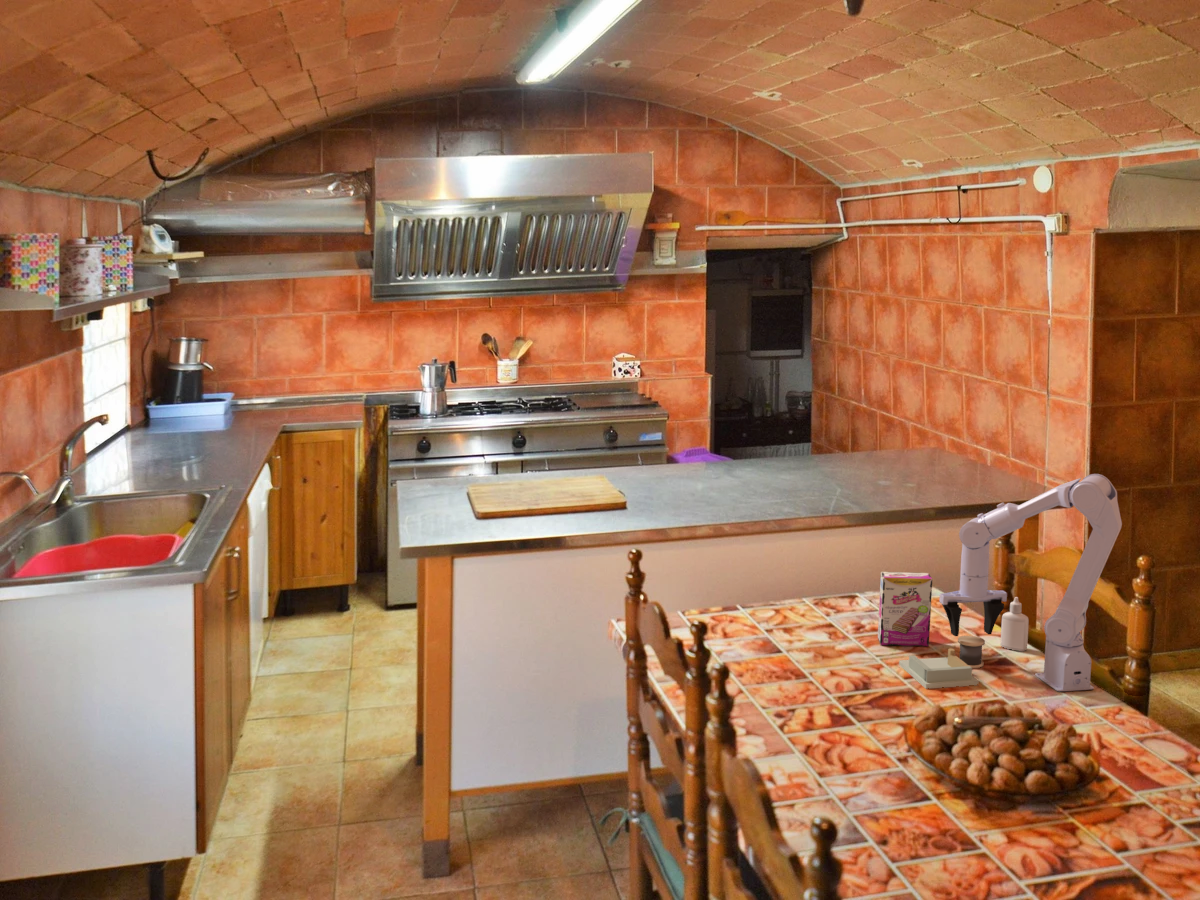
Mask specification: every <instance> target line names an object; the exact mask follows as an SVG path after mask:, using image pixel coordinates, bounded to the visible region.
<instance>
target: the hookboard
mask: <svg viewBox="0 0 1200 900" xmlns="http://www.w3.org/2000/svg"><path fill="white" fill-rule="evenodd" d="M898 665H899V666H900V667H901V668H902V669H903V670H904V671H905V672H906V673H907V674H909V675H910V676H911V677H912V678H913V679H914V680H916V681H917V682H918V683H919V684H920V685H921V686H922V687H923V688H925V690H927V689H928V688H929V689H941V688H942V687H944V688H956V686H959V687H970V686H969V685H974V686H978V685H979V682H980V681H979V679H977V678H976V677H975V676H974V675H973V668H971V667H970V666H969V665H967V664H966V663H965V662H963V661H962V660H961V659H960V658H959V657H958V656H957V655H956V650H955V649H954V648H948V649H947V657H946V656H945V657H929V658H918V657H917V656H916V655H909V656H908V659H899V660H898ZM977 684H978V685H977ZM942 689H943V688H942Z"/></svg>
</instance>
